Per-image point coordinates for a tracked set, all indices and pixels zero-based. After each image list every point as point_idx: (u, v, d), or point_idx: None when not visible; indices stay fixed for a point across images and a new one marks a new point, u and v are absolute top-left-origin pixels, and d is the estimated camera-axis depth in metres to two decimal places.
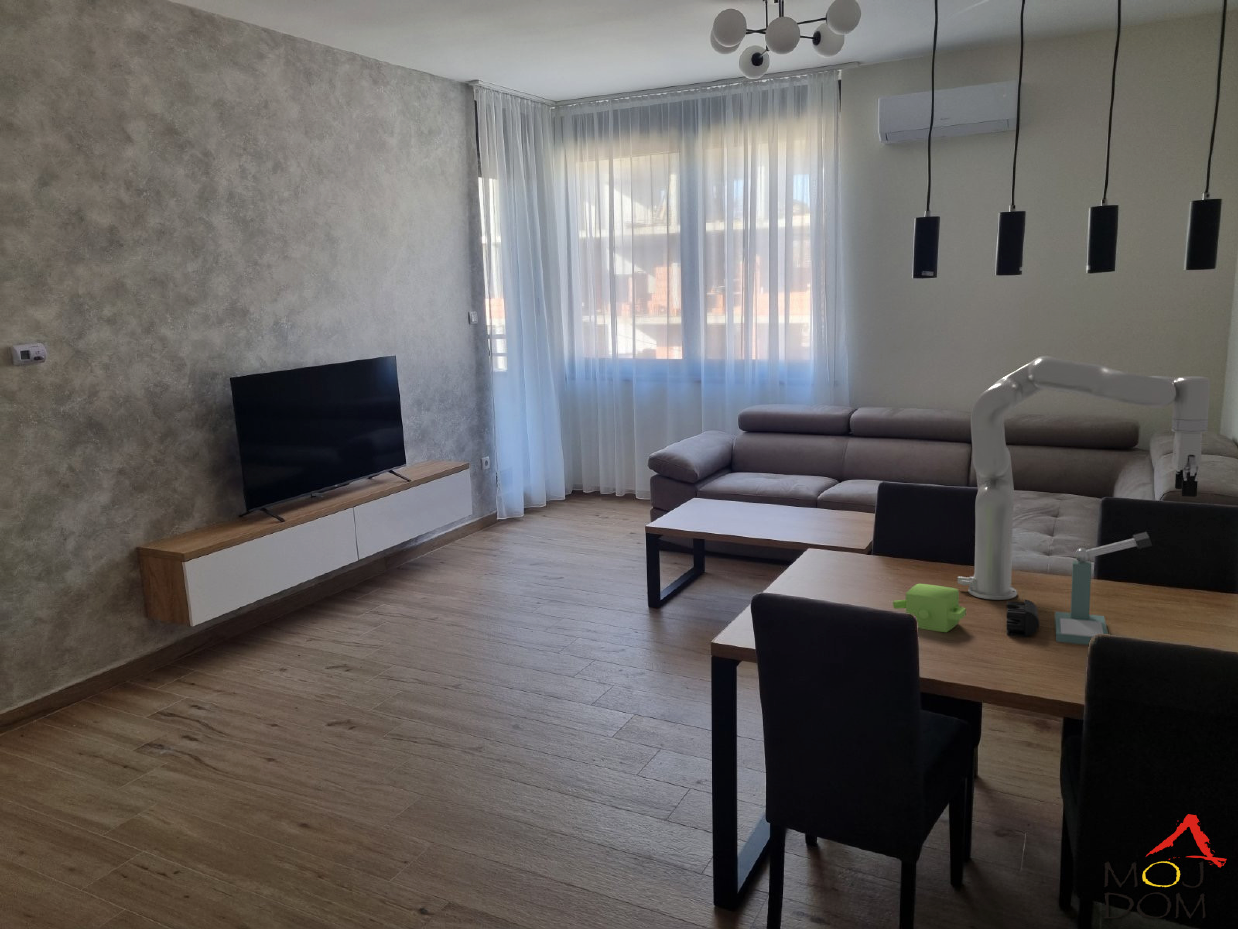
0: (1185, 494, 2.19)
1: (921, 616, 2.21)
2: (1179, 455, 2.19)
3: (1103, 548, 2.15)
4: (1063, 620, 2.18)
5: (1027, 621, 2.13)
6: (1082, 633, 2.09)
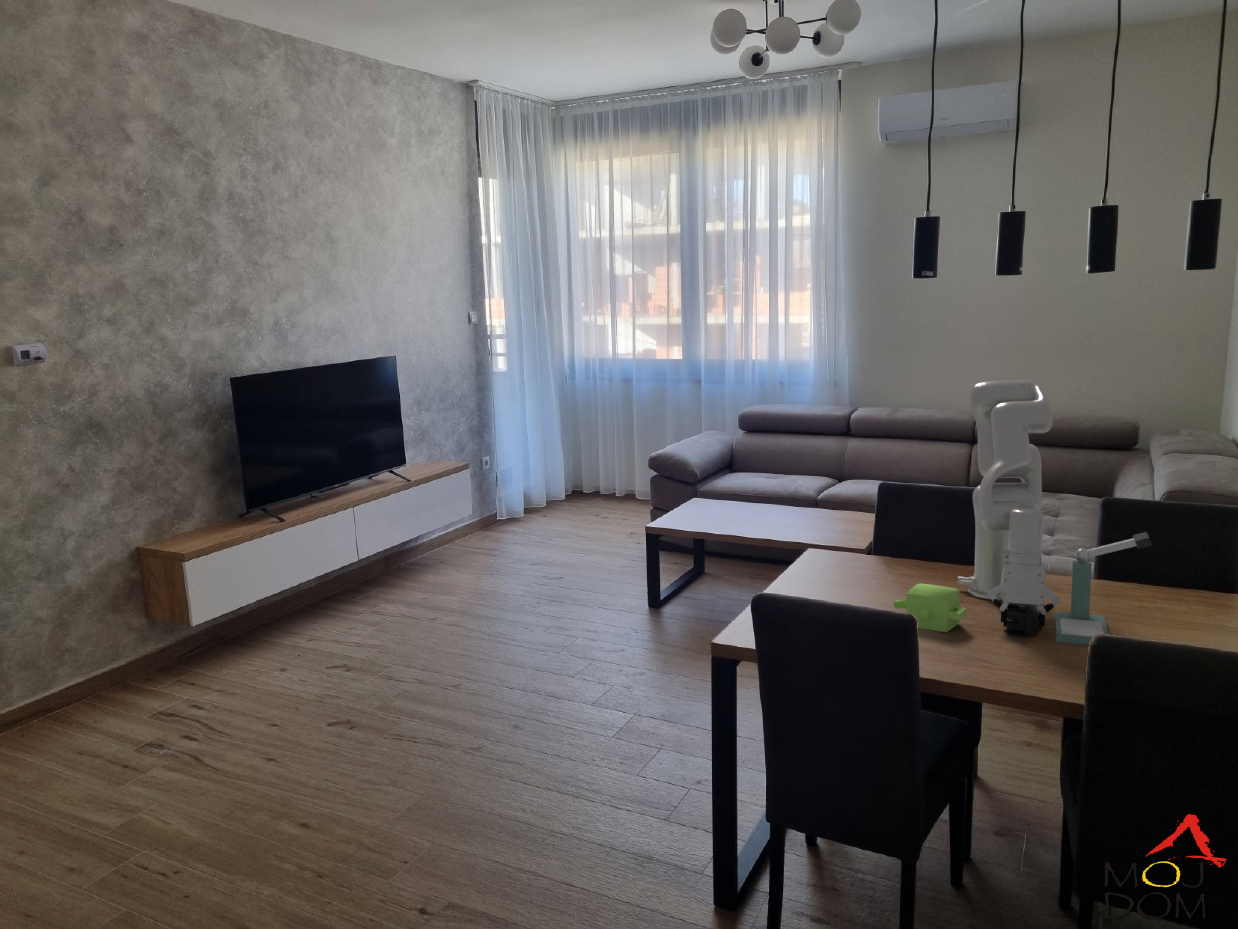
0: None
1: (921, 616, 2.21)
2: (1044, 589, 2.13)
3: (1103, 548, 2.15)
4: (1063, 620, 2.18)
5: (1027, 621, 2.13)
6: (1082, 633, 2.09)
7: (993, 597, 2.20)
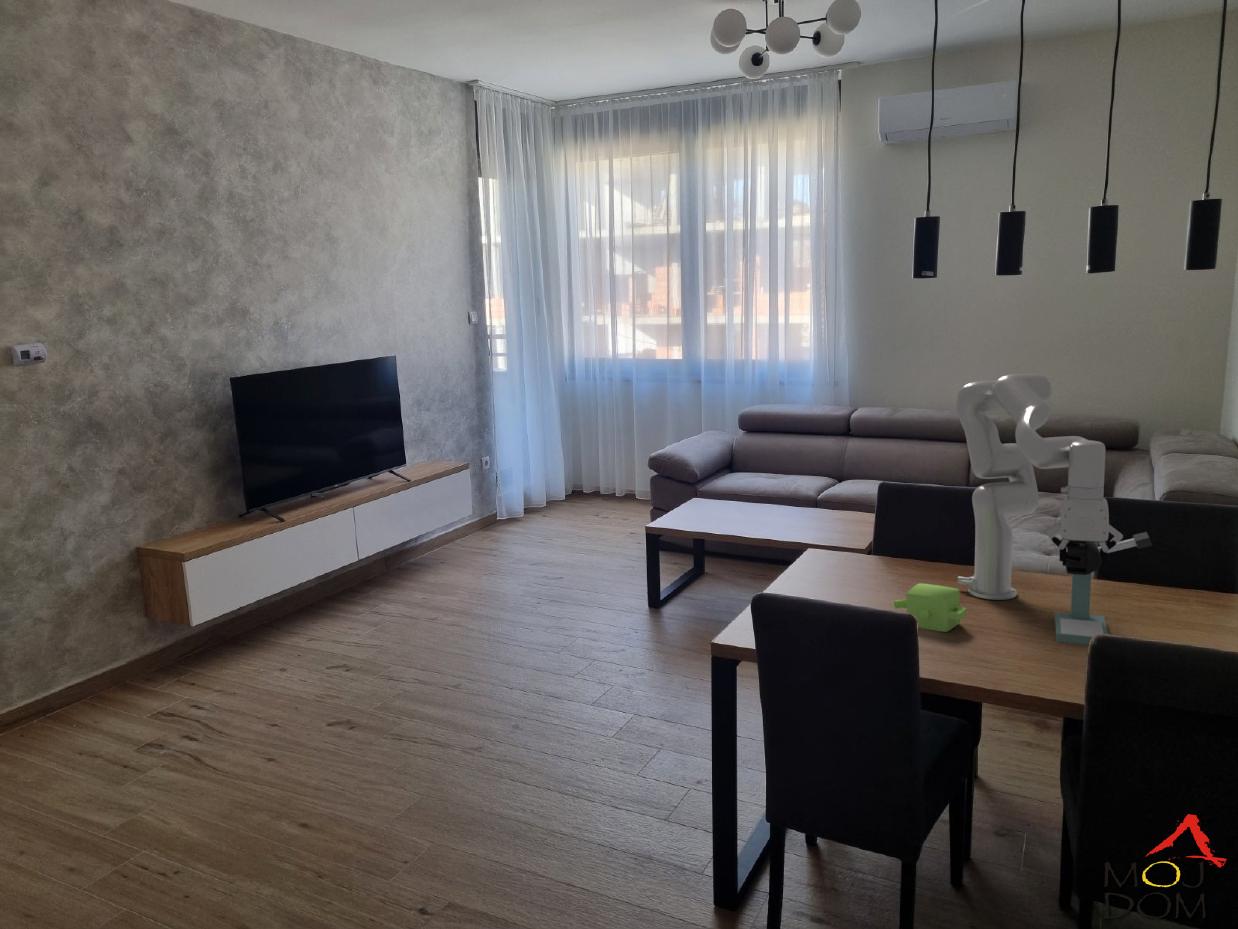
0: (1102, 566, 2.08)
1: (921, 616, 2.21)
2: (1106, 525, 2.05)
3: None
4: (1063, 620, 2.18)
5: (1089, 558, 2.05)
6: (1082, 633, 2.09)
7: (1051, 535, 2.12)
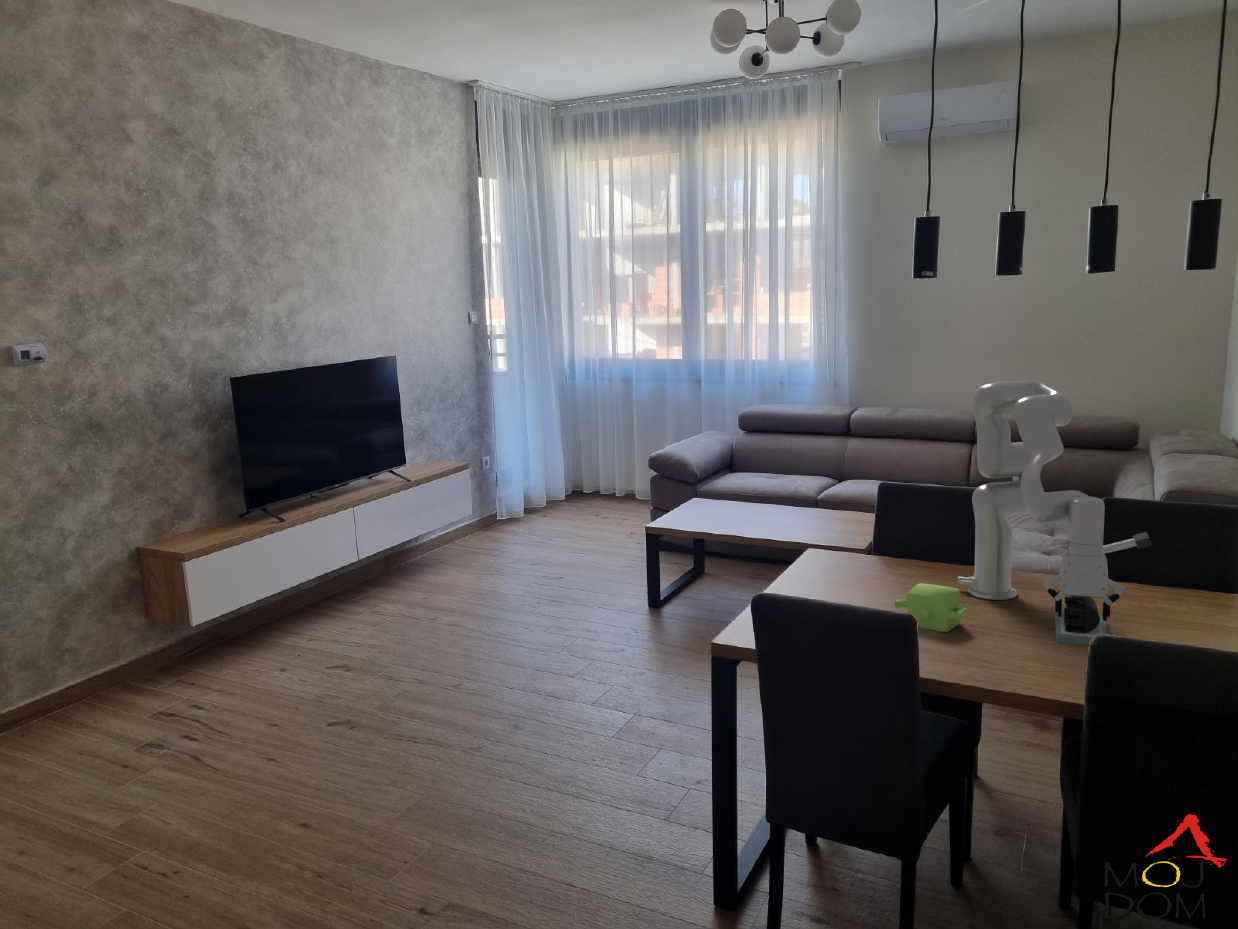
0: None
1: (921, 615, 2.21)
2: (1105, 581, 2.07)
3: (1103, 548, 2.15)
4: (1063, 620, 2.18)
5: (1087, 617, 2.07)
6: (1082, 633, 2.09)
7: (1048, 586, 2.14)
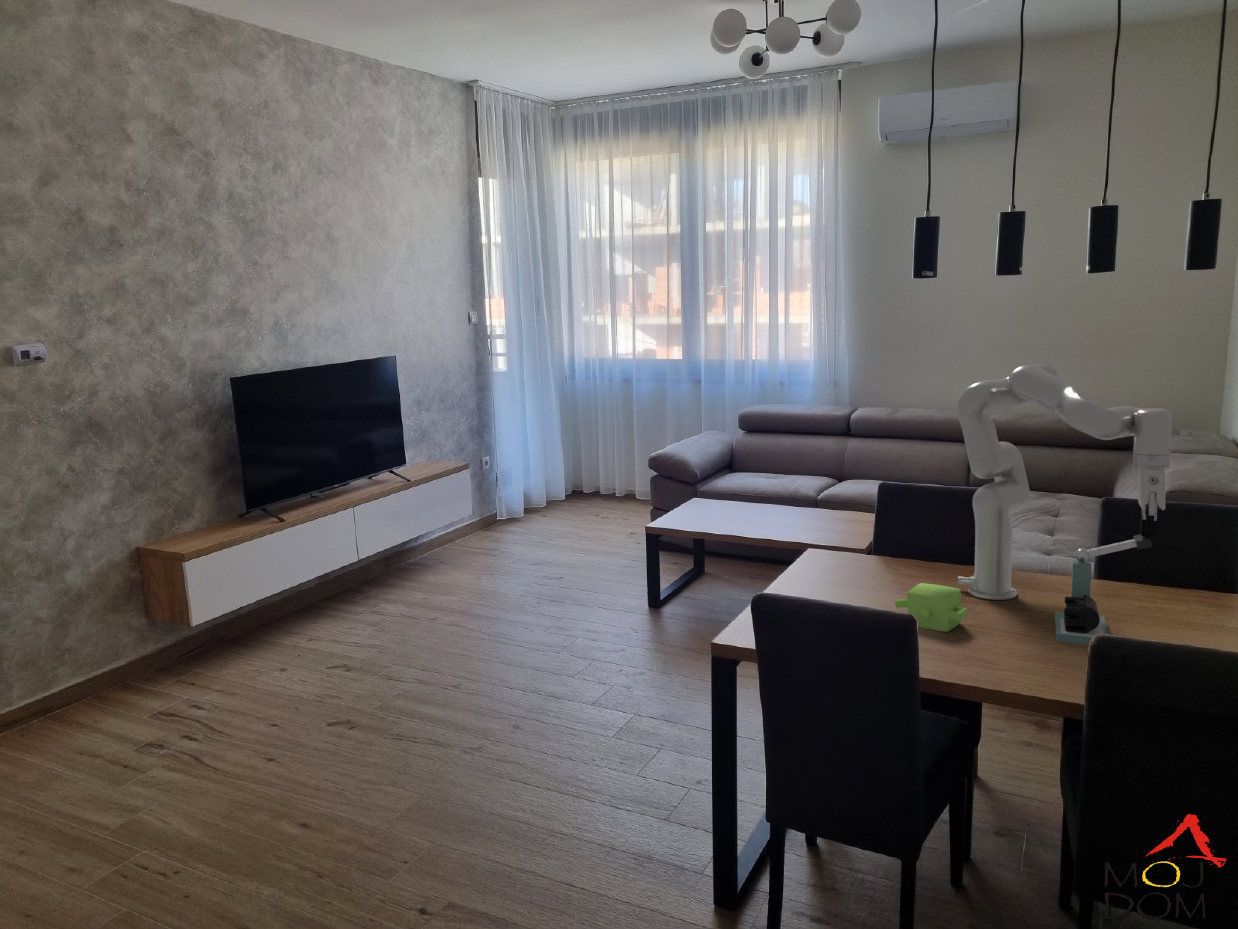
0: None
1: (922, 615, 2.21)
2: None
3: (1103, 548, 2.15)
4: (1063, 620, 2.18)
5: (1087, 617, 2.07)
6: (1082, 633, 2.09)
7: None
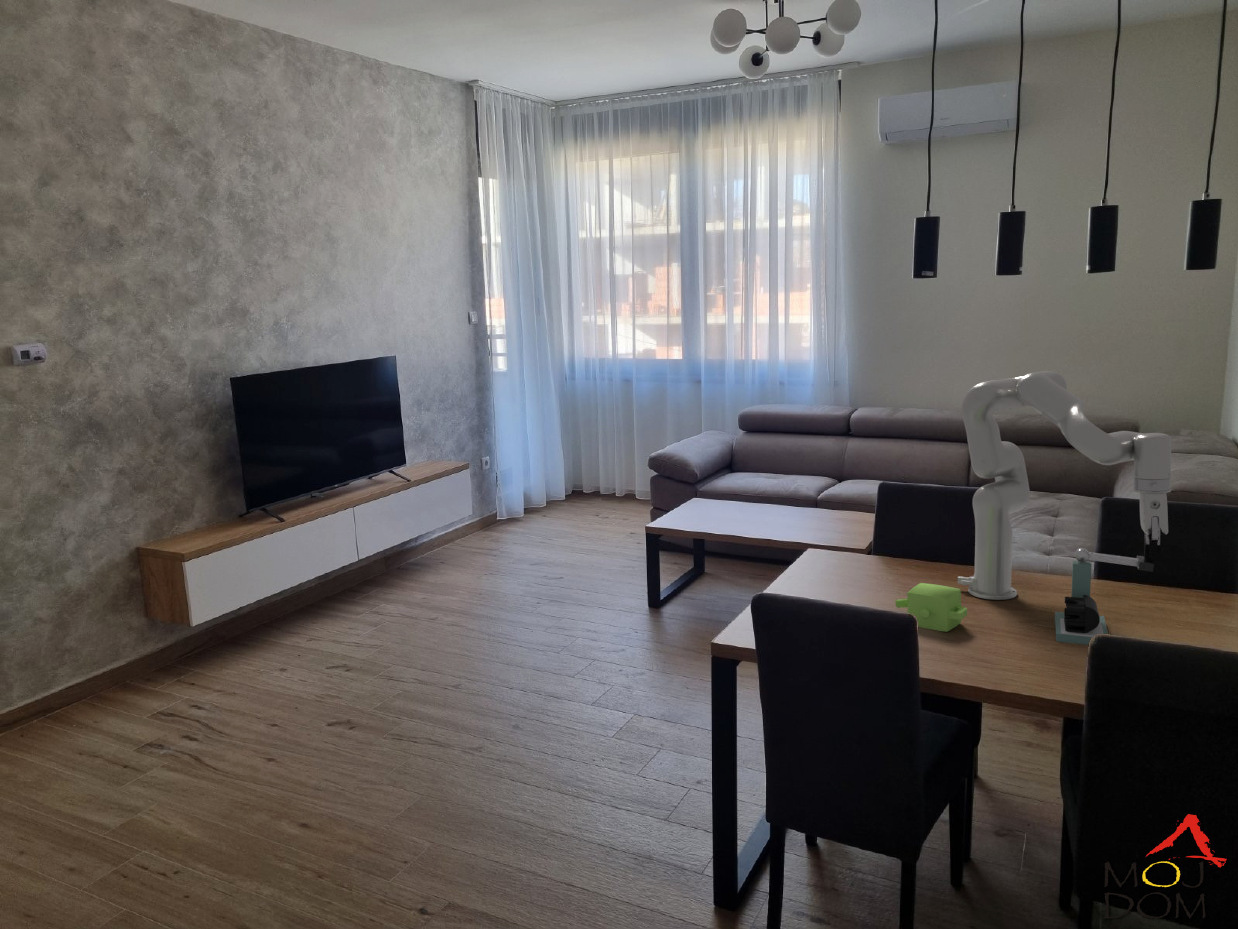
0: None
1: (922, 615, 2.21)
2: None
3: (1105, 556, 2.15)
4: (1063, 620, 2.18)
5: (1087, 617, 2.07)
6: (1082, 633, 2.09)
7: None
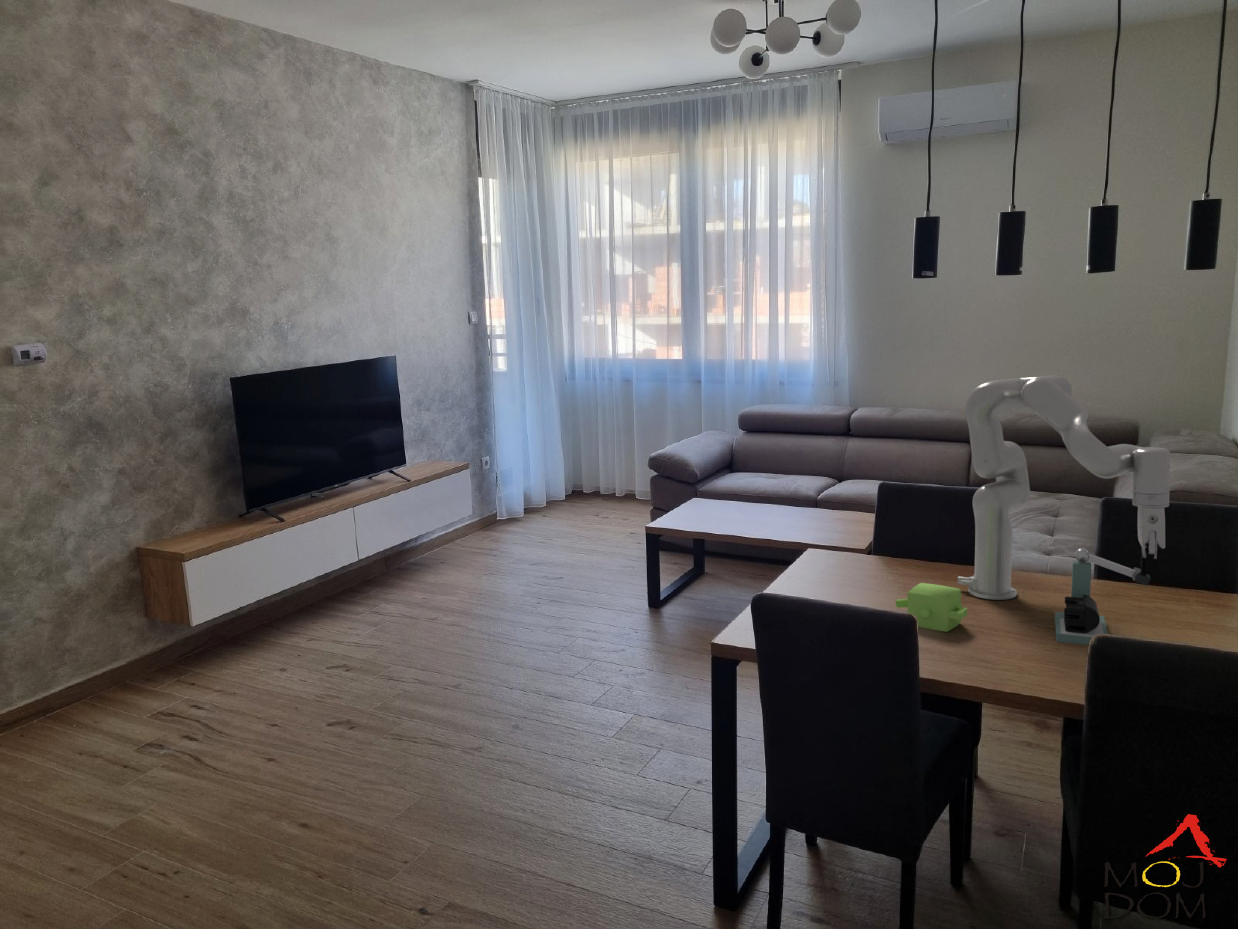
0: None
1: (922, 615, 2.21)
2: None
3: (1104, 561, 2.16)
4: (1063, 620, 2.18)
5: (1087, 617, 2.07)
6: (1082, 633, 2.09)
7: None
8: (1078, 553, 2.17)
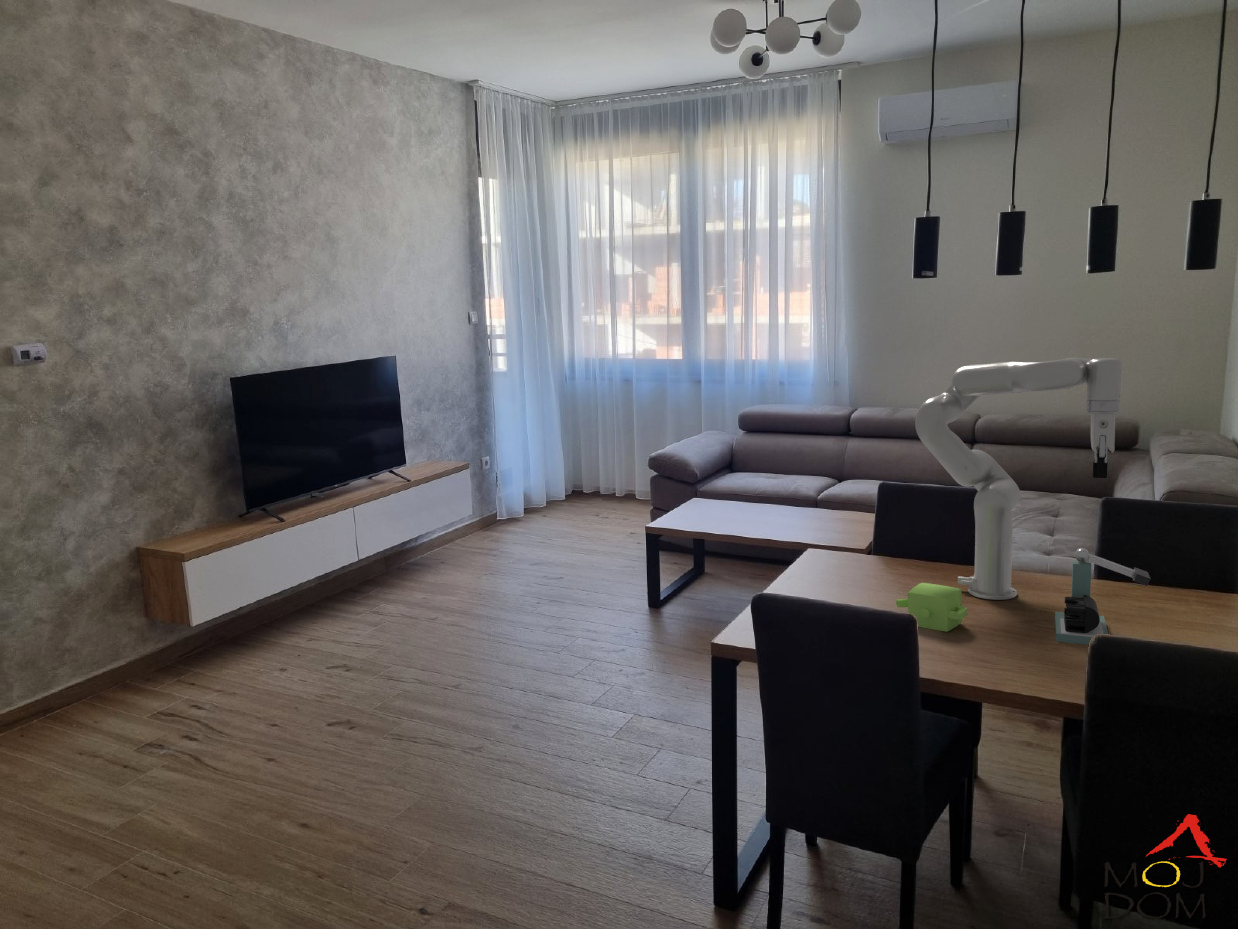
0: None
1: (922, 615, 2.22)
2: None
3: (1104, 561, 2.16)
4: (1063, 620, 2.18)
5: (1087, 617, 2.07)
6: (1082, 633, 2.09)
7: None
8: (1078, 553, 2.17)
